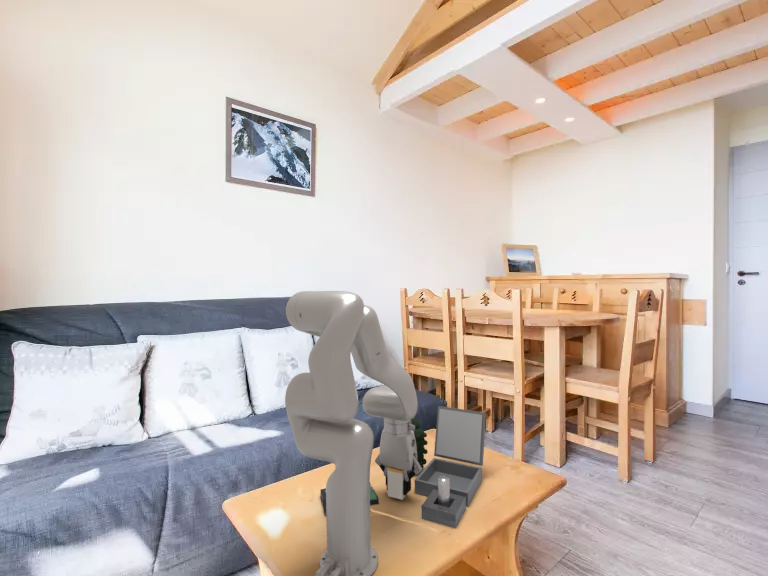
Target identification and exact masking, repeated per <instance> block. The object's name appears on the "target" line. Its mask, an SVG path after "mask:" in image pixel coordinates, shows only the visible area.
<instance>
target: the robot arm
mask: <svg viewBox="0 0 768 576" xmlns="http://www.w3.org/2000/svg"><path fill="white" fill-rule="evenodd" d="M285 316H286V319H287V321H288V323H289V324H290V326H291V327H292V328H293V329H295V330H296V331H299V332H302V333H305V334H308V335H312V336H315V337H318V339H317V340H316V342H315V343H314V345H313V346H312V348H311V350H310V352H309V355H308V359H307V362H308V369H309V372H301V373H298V374H297V375H295V376H294V377H292V378H291V380H290V381H289V383H288V384H287V388H286V389H285V390H286V391H285V395H284V404H285V405H284V406H285V411H286V414H287V417H288V422H289V425H290V429H291V432H292V436H293V439H294V442H295V446H296V448H297V450H298V452H300V454H302V455H303V456H304V457H306V458H307V457H308V458H310V459H314V460H319V461H324V462H328V463H329V464H330V463H331V464H333V465H334V467H335V468H334V470H333V471H332V472H331V474H330V475H329V476H328V478H327V480H326V485H325V488H326V516H325V518H326V519H325V520H326V549H324V551H323V553H322V554H321V556H320V560H319V568H318V569H317V570H316V572H315V573H314V576H372V575H373V574H374V572H375V571H376V570H377V568H378V565H379V564H378V563H379V556H378V552H377V550H376V549H375V547H374V546H373V545H371V542H372V541H371V505H370V484H371V481H370V479H371V477H370V476H371V475H370V474H371V463H372V455H373V450H374V445H375V443H374V440H375V436H374V432H373V430H372V427H370V425H368V424H367V423H366V422H365V421H362V420H359V419H356V418H355V417H356V416H357V413H358V411H359V395H358V390H357V385H356V380H355V376H354V371H353V366H352V361H351V360H352V359H353V362H354V365H355V367H356V369H357V370H358V371H359V372H360V373H361V374H363V375H364V376H366V377H368V378H370V379H372V380H374V381H376V382H378V383H381V384H382V385H380V386H379V385H378V386H374V387H372V388H370V389H369V390H368V391H366V393H365V394H364V396H363V398H362V409H363V410H364V411H363V412H364V413H366V414H367V415H369V416H371V417H374V418H375V417H376V418H382V419H383V429H382V431H381V436H380V443H379V454H378V455H377V457H376V458H375V460H374V462H375V463H376V465H377V466H379V468H380V469H381V471H382V473H383V475H384V477H385V486H386V491H387V492H388V480H387V467H392V468H397V469H401V470H403V473H404V478H405V480H404V481H403V494H404V495H406V496H407V495H408V494H409V493H408V492H410V491H411V490H412V479H413V478H414V477H415V476H416V475H417V476H418V475H419V474H420V473H421V472H422V471H423V469H422V467H421V466H420V464H419V463H418V461H417V447H416V440H415V435H414V432H415V425H413V424H412V423H411V419H413V418H415V416H416V415H417V413H418V408H419V407H418V405H419V404H418V403H419V402H418V397H417V392H416V387H415V384H414V381H413V379H412V376H410V374H409V372H407V370H405V368H403V367H402V365H401V364H400V363H398V362H397V360H395V359H394V358H393V357H392V356H390V355H389V353H388V350H387V345H386V342H385V339H384V335H383V331H382V327H381V323H380V321H379V317H378V314H377V312H376V311H375V310H374V308H373V307H371V306H369V305H366V304H365V303H364V300H363V299H362V297H361V296H360V295H358V294H357V293H354V292H353V291H352V292H351V291H344V290H310V291H309V290H307V291H306V290H305V291H299V292H296V293H294V294H293V295H292V296H290V298H289V299H288V301H287V303H286V307H285ZM351 356H352V359H351ZM412 466H414V468H413V471H412V470H411V469H412ZM407 493H408V494H407Z"/></svg>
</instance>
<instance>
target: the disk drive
mask: <svg viewBox="0 0 768 576" xmlns="http://www.w3.org/2000/svg"><path fill="white" fill-rule="evenodd" d="M320 500H321V503H322V508H323V512H324V515H325V517H326V487H325V488H322V489H320ZM379 503H380V502H379V497H378V495H377V493H376V490H375V489H374V488H373V486H372V484H371V483H370V506H373V505H374V506H375V505H379Z"/></svg>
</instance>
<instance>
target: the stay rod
mask: <svg viewBox="0 0 768 576" xmlns="http://www.w3.org/2000/svg"><path fill="white" fill-rule="evenodd" d="M438 505H441V506H444V507H448V508H450V479H449V477H447V476H439V477H438Z"/></svg>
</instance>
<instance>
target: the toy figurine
mask: <svg viewBox="0 0 768 576" xmlns="http://www.w3.org/2000/svg"><path fill="white" fill-rule="evenodd" d="M411 423H412V424H413V425H415V430H414V435H415V440H416V447H417V461H418V463H419V464H420V466H421V467H422V470H424V468H425V467H424V466H425V465H427V459H426V458H425V455H426V454H428V453H429V452H428V450H427V449H426V448H425V446H427V445H428V441H427V440H426V439H425V438H426V437H427V436H428V434H427V432H425V431H424V430H423V429H422V428H421V424H420V422H419V420H418V418H415V417H414V418H413V419H411ZM414 469H415V468H414V466H412V469H411V470H412V471H413V470H414Z"/></svg>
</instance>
